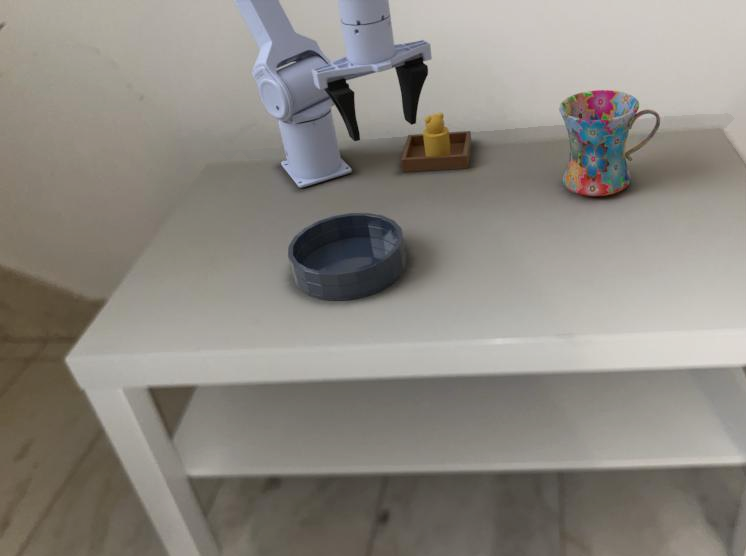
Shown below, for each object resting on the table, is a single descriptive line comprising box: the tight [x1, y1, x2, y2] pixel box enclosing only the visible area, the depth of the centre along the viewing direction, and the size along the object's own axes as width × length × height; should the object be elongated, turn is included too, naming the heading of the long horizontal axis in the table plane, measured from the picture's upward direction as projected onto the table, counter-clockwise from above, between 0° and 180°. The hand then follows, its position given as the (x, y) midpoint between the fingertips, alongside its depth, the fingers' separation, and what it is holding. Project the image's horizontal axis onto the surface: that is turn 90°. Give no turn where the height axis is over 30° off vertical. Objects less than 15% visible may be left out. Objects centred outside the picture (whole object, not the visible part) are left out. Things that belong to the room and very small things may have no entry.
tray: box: [400, 130, 472, 173], centre depth 109 cm, size 9×8×2 cm
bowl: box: [287, 212, 407, 302], centre depth 88 cm, size 13×13×4 cm
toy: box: [422, 112, 451, 156], centre depth 108 cm, size 4×4×6 cm
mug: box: [558, 89, 661, 197], centre depth 95 cm, size 12×9×11 cm
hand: (382, 129), depth 96 cm, fingers open, 7 cm apart
